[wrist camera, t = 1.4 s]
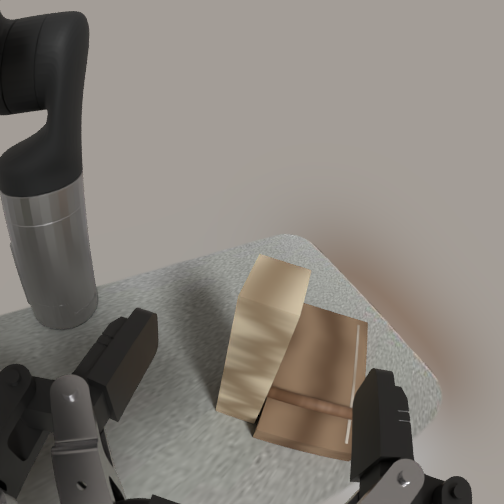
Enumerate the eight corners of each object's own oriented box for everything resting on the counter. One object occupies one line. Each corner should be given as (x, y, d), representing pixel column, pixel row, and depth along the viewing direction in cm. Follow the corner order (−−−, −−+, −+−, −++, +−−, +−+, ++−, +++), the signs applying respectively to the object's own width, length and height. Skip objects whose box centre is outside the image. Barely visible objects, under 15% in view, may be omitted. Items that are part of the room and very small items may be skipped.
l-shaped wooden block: (215, 410, 29) (238, 295, 20) (231, 373, 33) (259, 254, 24) (347, 448, 27) (438, 355, 18) (353, 409, 31) (429, 307, 22)
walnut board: (252, 437, 27) (256, 429, 26) (292, 311, 43) (296, 300, 42) (348, 461, 26) (357, 454, 25) (361, 332, 41) (367, 322, 40)
